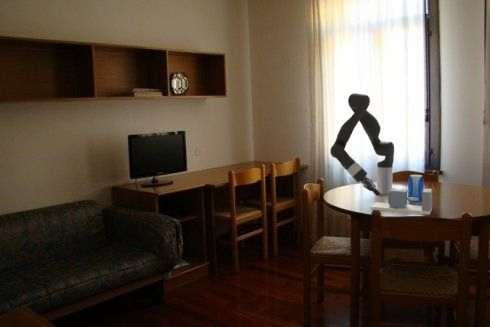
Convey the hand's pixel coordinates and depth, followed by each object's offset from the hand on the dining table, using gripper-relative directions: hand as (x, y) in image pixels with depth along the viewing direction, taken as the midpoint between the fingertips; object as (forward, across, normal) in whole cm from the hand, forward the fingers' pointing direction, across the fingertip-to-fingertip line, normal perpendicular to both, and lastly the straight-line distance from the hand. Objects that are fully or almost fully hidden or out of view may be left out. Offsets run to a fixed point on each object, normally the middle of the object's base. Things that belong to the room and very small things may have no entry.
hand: (378, 194), depth 252 cm
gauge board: (+14, 0, -3) cm, 14 cm away
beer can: (+18, +19, -7) cm, 27 cm away
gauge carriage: (+13, -1, -5) cm, 14 cm away
